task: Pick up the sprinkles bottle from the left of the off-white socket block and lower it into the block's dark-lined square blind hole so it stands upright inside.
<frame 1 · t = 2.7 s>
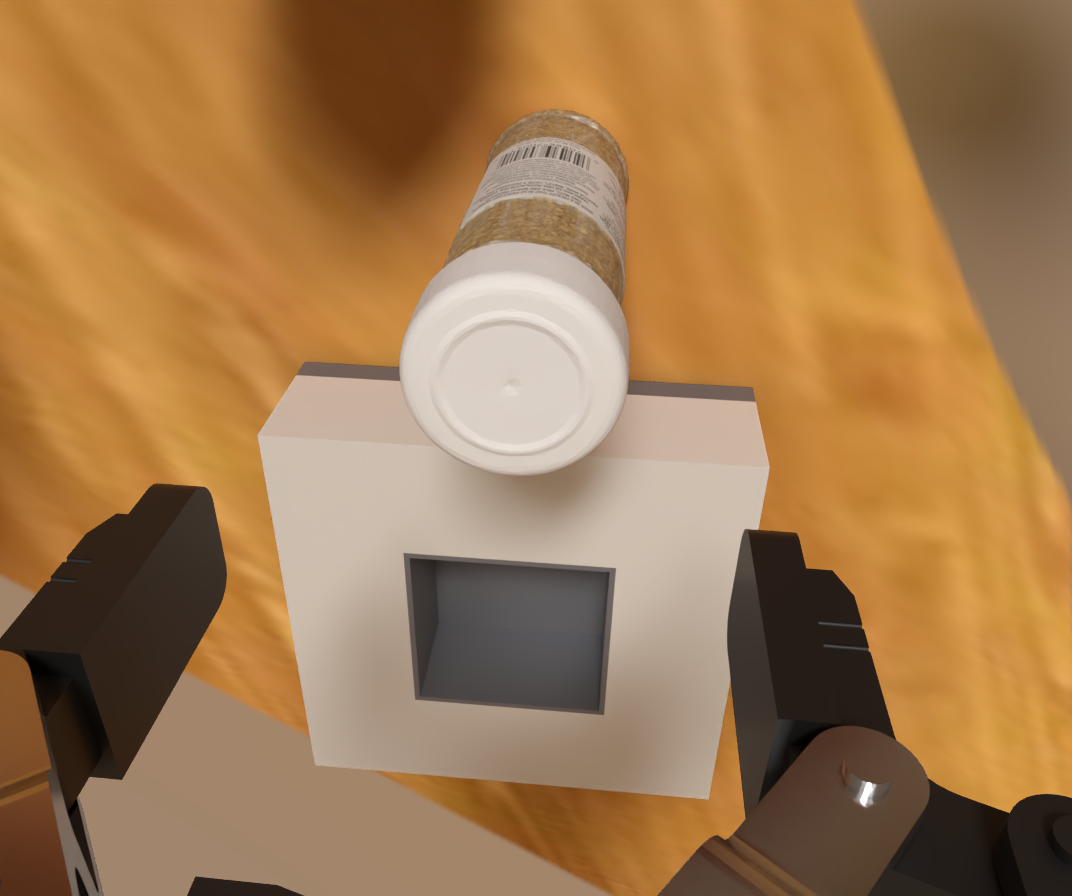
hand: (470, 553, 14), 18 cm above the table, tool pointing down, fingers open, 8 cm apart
socket block: (523, 549, 37), on the table
sprinkles bottle: (559, 177, 29), on the table
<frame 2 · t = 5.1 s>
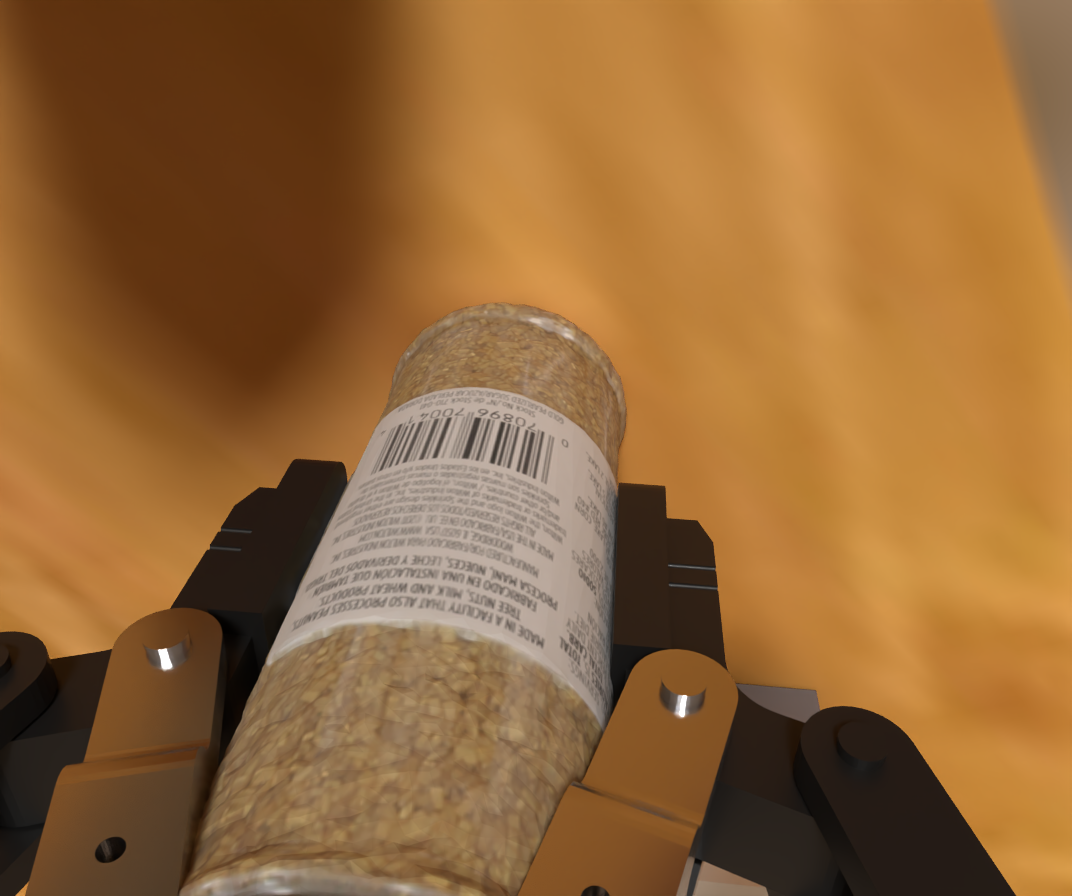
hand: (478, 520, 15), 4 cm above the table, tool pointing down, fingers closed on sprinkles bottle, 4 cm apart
socket block: (473, 865, 26), on the table
sprinkles bottle: (513, 397, 18), on the table, touching gripper
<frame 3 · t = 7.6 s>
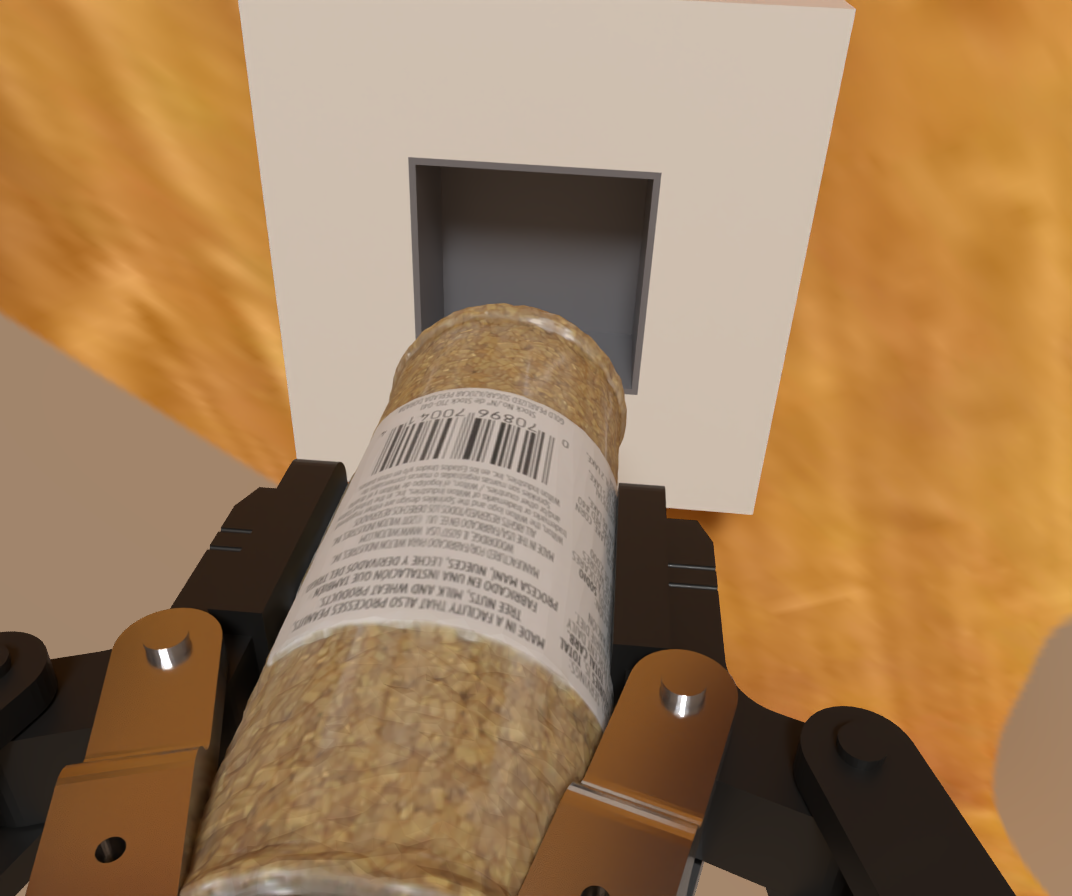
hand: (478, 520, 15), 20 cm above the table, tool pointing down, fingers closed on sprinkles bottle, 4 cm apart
socket block: (543, 226, 32), on the table
sprinkles bottle: (514, 398, 18), point 16 cm above the table, touching gripper
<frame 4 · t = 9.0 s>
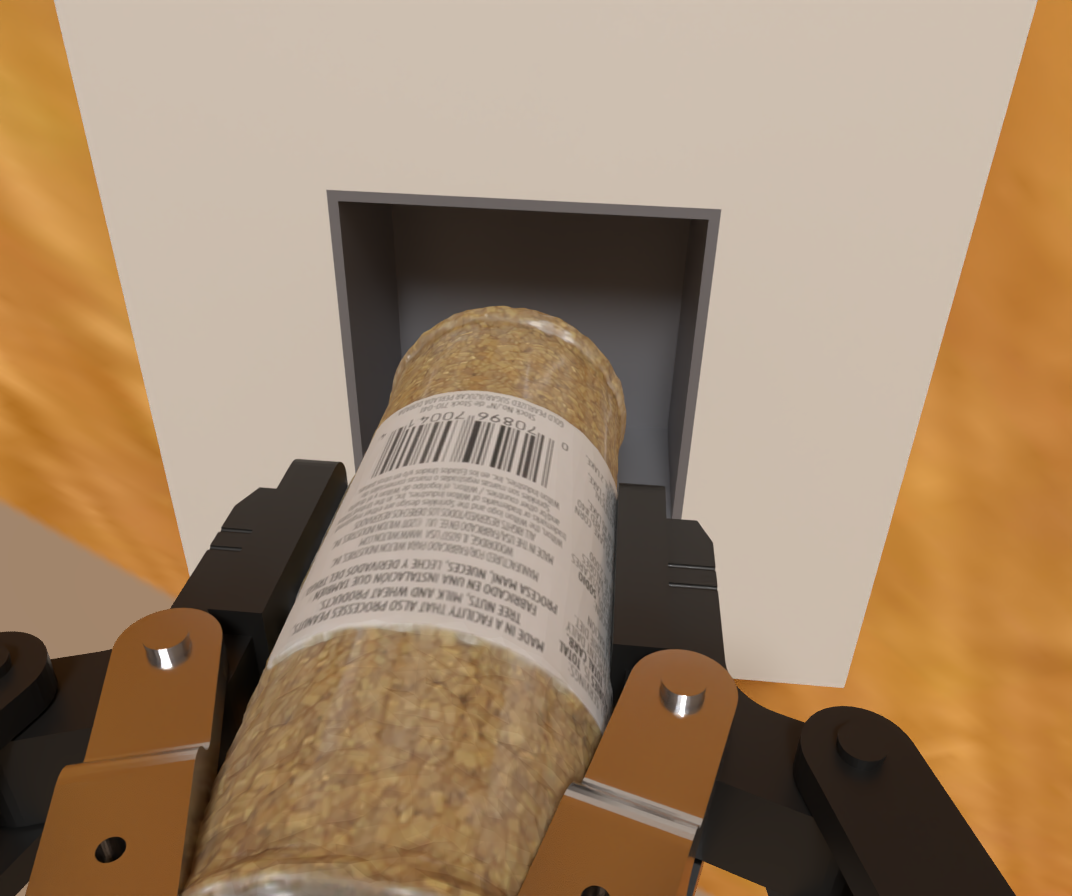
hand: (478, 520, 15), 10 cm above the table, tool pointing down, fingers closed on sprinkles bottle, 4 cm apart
socket block: (541, 280, 23), on the table
sprinkles bottle: (513, 400, 18), point 6 cm above the table, touching gripper
when the fingers open (6 cm above the table, at t = 10.2 s): sprinkles bottle drops 1 cm, resting on socket block.
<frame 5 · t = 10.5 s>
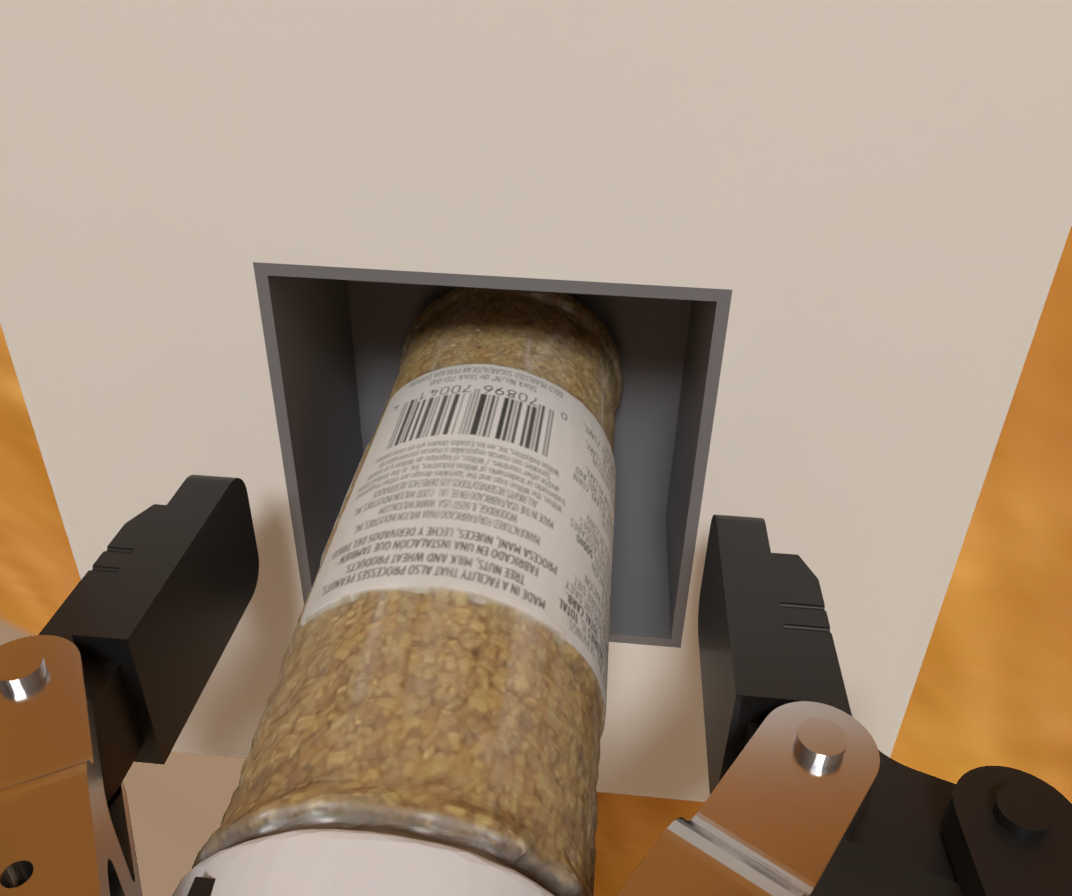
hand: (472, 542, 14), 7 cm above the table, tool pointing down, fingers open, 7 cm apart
socket block: (521, 345, 20), on the table
sprinkles bottle: (516, 364, 19), point 1 cm above the table, touching socket block
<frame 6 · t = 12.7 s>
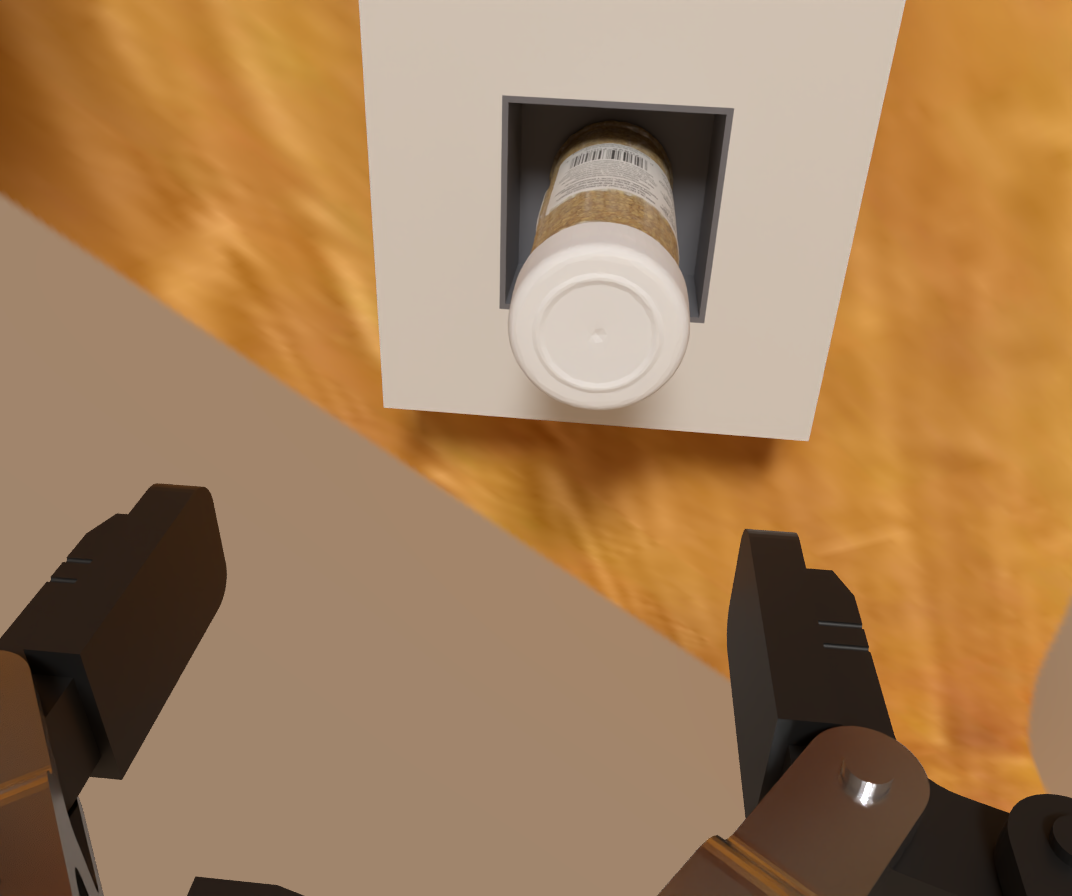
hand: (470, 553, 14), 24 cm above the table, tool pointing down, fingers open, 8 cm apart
socket block: (613, 174, 35), on the table
sprinkles bottle: (612, 179, 34), point 1 cm above the table, touching socket block
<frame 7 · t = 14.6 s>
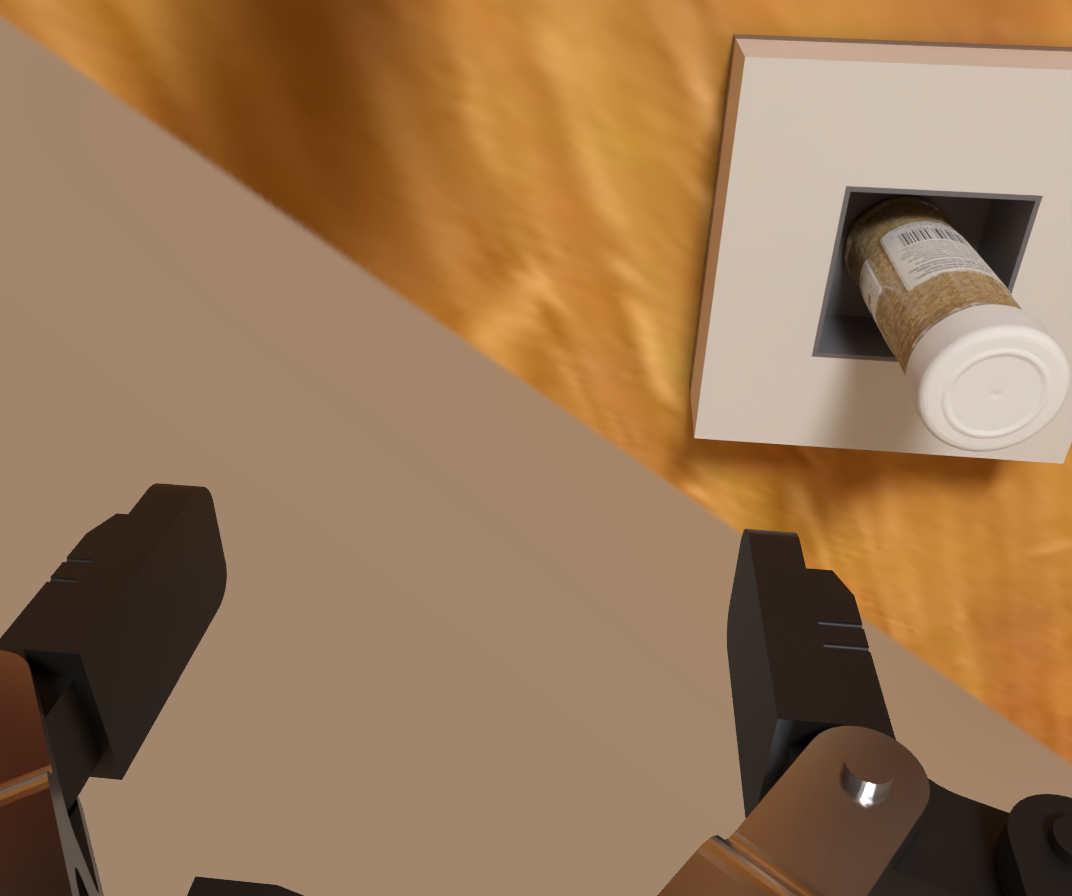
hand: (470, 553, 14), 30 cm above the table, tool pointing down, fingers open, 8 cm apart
socket block: (891, 237, 41), on the table
sprinkles bottle: (896, 243, 40), point 1 cm above the table, touching socket block
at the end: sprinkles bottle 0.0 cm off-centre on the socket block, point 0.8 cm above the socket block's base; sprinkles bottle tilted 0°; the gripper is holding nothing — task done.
